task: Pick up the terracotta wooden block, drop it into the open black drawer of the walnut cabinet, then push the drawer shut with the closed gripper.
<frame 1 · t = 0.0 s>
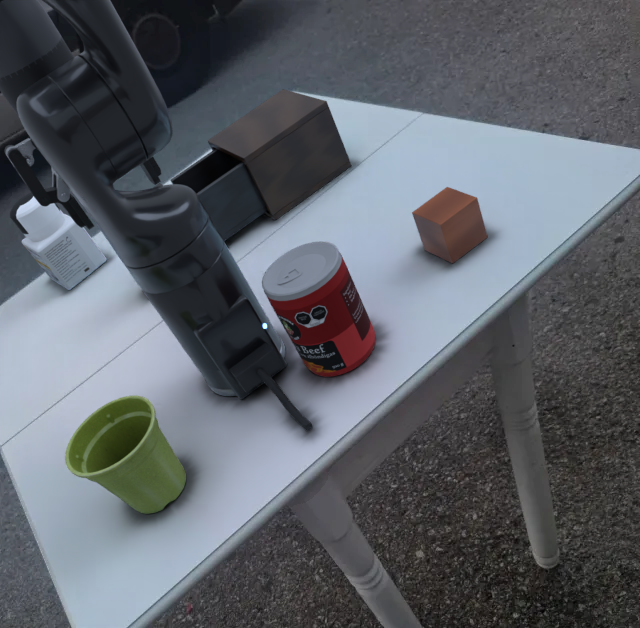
hand: (123, 203, 76), 17 cm above the table, tool pointing down, fingers open, 8 cm apart
canned food: (342, 352, 73), on the table
block: (455, 243, 78), on the table
drawer: (205, 204, 98), point 5 cm above the table, slide at 9.0 cm
plant pot: (160, 490, 70), on the table
cabinet: (292, 182, 103), on the table
container: (80, 271, 112), on the table
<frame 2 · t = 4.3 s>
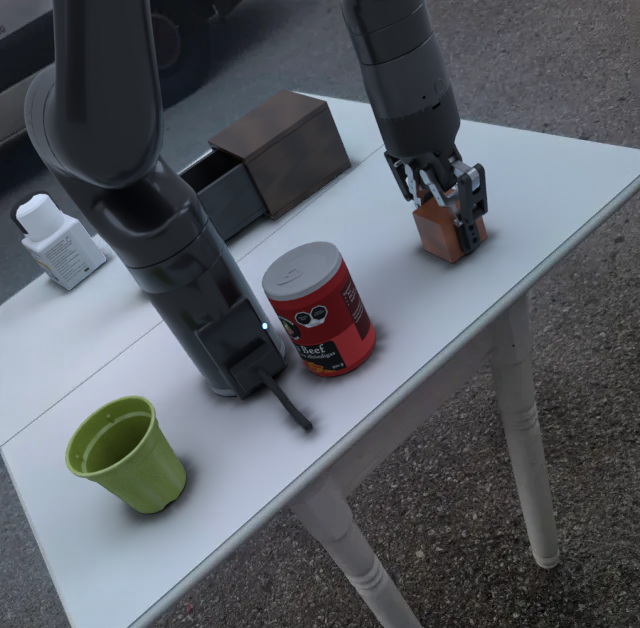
hand: (455, 240, 77), 0 cm above the table, tool pointing down, fingers closed on block, 5 cm apart
block: (455, 243, 78), on the table, touching gripper
everything else where it was.
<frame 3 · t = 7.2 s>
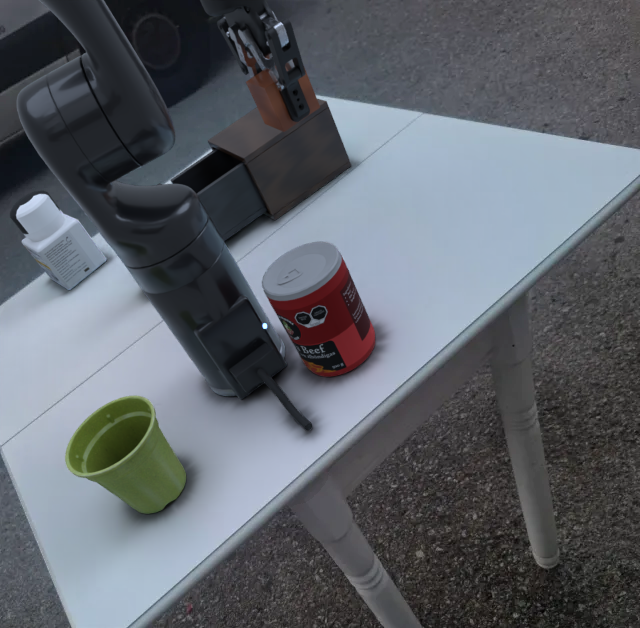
hand: (290, 112, 79), 15 cm above the table, tool pointing down, fingers closed on block, 5 cm apart
block: (292, 115, 79), point 15 cm above the table, touching gripper
everything else where it was.
when the fingers open (10 cm above the table, at t = 10.0 s): block drops 5 cm and tips over, resting on drawer.
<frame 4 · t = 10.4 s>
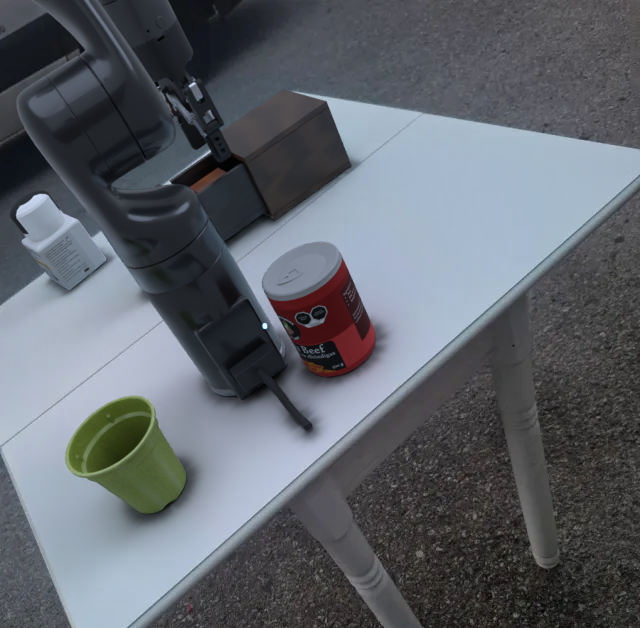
hand: (212, 152, 95), 10 cm above the table, tool pointing down, fingers open, 8 cm apart
block: (233, 187, 99), point 4 cm above the table, tilted 90°, touching drawer
drawer: (204, 204, 98), point 5 cm above the table, slide at 9.1 cm, touching block
everything else where it was.
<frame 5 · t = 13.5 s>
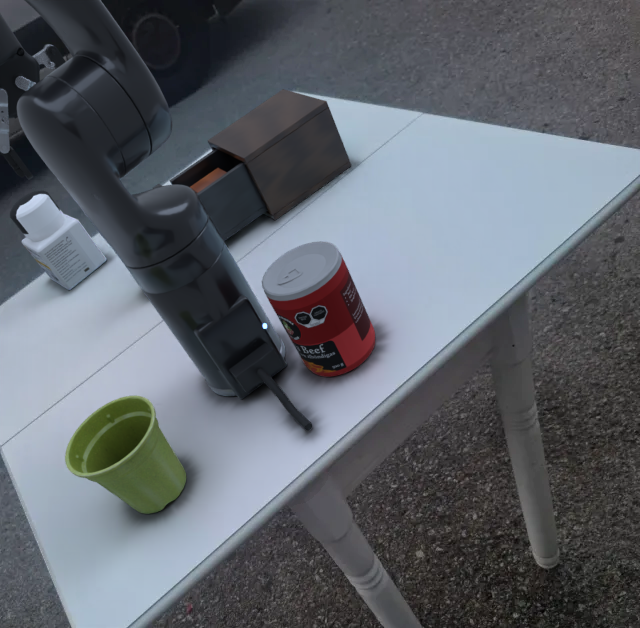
hand: (58, 158, 86), 20 cm above the table, tool pointing down, fingers open, 7 cm apart
nothing on the table moved.
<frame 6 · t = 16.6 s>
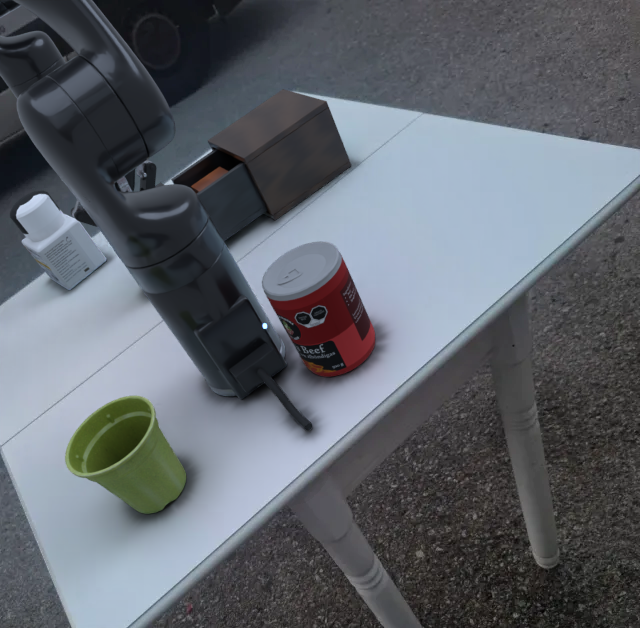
hand: (150, 245, 97), 5 cm above the table, tool pointing down, fingers closed
drawer: (206, 203, 98), point 5 cm above the table, slide at 8.8 cm, touching block, gripper
everything else where it was.
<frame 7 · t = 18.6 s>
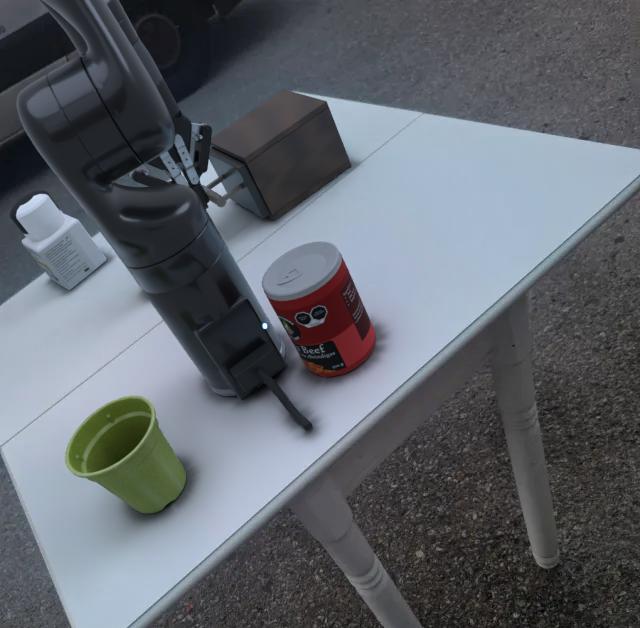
hand: (202, 208, 98), 5 cm above the table, tool pointing down, fingers closed
block: (285, 150, 100), point 4 cm above the table, tilted 90°, touching drawer
drawer: (257, 168, 99), point 5 cm above the table, slide at 0.0 cm, touching block, cabinet, gripper
everything else where it was.
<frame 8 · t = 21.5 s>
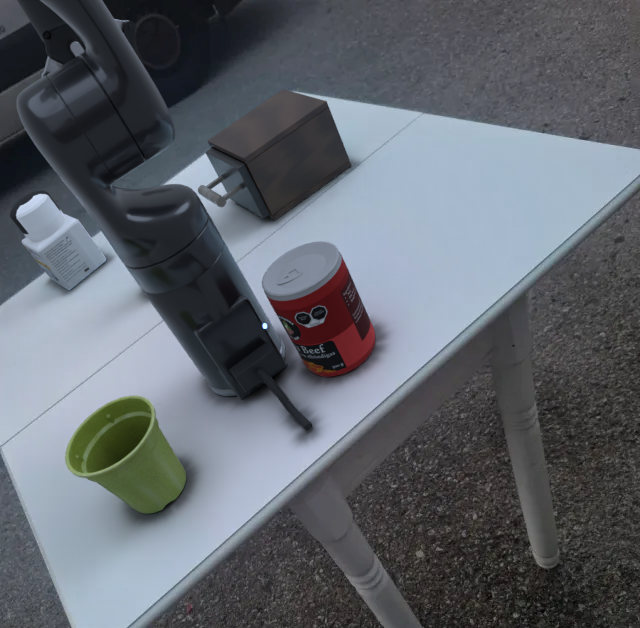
hand: (129, 121, 88), 19 cm above the table, tool pointing down, fingers closed
drawer: (257, 168, 99), point 5 cm above the table, slide at 0.0 cm, touching block
everything else where it was.
at the end: block inside the target area in the cabinet (1.0 cm from its centre), point 4.5 cm above the cabinet's base; drawer slide at 0.0 cm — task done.
